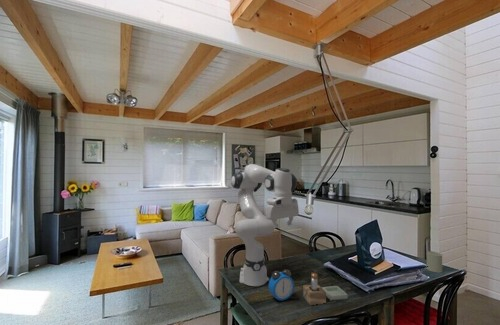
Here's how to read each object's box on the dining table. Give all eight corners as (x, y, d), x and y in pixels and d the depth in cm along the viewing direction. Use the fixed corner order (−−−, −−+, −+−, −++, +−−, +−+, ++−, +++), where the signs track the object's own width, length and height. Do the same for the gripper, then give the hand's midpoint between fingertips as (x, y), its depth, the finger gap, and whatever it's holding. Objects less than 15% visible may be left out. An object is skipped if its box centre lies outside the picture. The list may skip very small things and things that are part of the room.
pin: (310, 298, 137) (310, 272, 137) (315, 298, 137) (315, 272, 137) (312, 301, 134) (312, 275, 134) (318, 301, 134) (318, 275, 134)
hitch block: (302, 296, 139) (303, 285, 139) (317, 294, 141) (317, 284, 141) (310, 305, 130) (310, 293, 130) (325, 303, 132) (326, 292, 132)
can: (437, 267, 181) (437, 250, 181) (445, 273, 172) (445, 255, 172) (423, 266, 182) (423, 250, 182) (431, 272, 173) (431, 254, 173)
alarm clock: (273, 303, 131) (273, 274, 132) (267, 297, 137) (268, 270, 137) (294, 298, 137) (294, 271, 137) (288, 293, 142) (288, 266, 142)
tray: (321, 291, 145) (321, 287, 145) (337, 289, 147) (337, 285, 147) (330, 300, 135) (330, 296, 135) (347, 298, 137) (347, 294, 137)
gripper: (293, 197, 138) (292, 222, 138) (264, 200, 126) (263, 227, 126) (301, 198, 133) (301, 225, 133) (272, 201, 121) (271, 230, 121)
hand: (282, 226), depth 129 cm, fingers open, 8 cm apart
